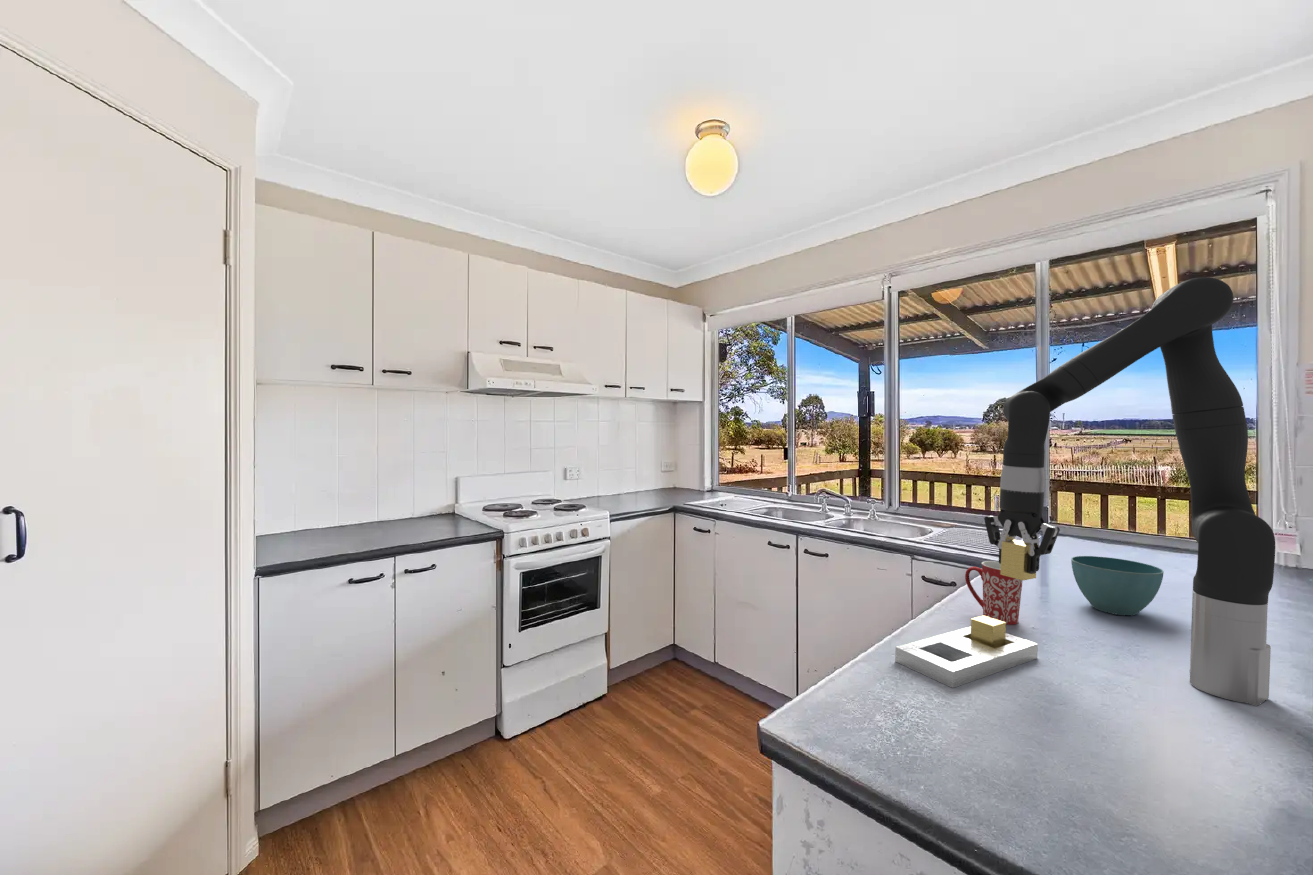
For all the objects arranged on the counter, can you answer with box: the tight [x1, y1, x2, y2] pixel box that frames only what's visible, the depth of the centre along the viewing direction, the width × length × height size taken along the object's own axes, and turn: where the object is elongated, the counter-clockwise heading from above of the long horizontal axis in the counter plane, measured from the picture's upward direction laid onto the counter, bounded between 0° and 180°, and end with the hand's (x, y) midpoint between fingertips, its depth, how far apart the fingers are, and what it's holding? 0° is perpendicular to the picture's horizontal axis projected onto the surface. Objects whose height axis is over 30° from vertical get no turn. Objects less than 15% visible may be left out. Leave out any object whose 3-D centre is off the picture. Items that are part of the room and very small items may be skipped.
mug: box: [964, 560, 1024, 626], centre depth 132 cm, size 13×9×14 cm
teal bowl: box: [1070, 555, 1165, 616], centre depth 138 cm, size 18×18×12 cm
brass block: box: [1000, 539, 1037, 581], centre depth 110 cm, size 4×4×7 cm
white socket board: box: [894, 625, 1039, 689], centre depth 107 cm, size 28×12×3 cm, turn 118°
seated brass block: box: [970, 614, 1007, 649], centre depth 111 cm, size 4×4×7 cm
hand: (1017, 569), depth 110 cm, fingers closed on brass block, 4 cm apart
